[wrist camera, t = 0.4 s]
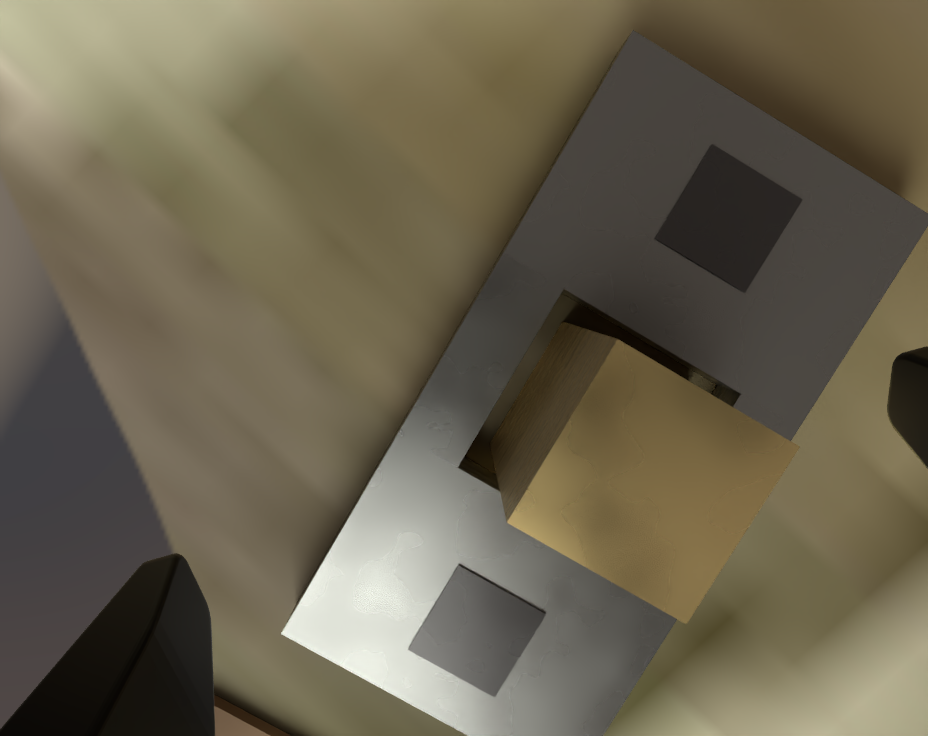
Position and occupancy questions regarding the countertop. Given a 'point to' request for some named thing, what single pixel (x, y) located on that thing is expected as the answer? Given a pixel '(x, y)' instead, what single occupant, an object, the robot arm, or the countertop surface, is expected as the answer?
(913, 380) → the robot arm
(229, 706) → the copper pad
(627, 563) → the wood grain block
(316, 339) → the countertop surface
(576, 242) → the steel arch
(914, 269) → the countertop surface
